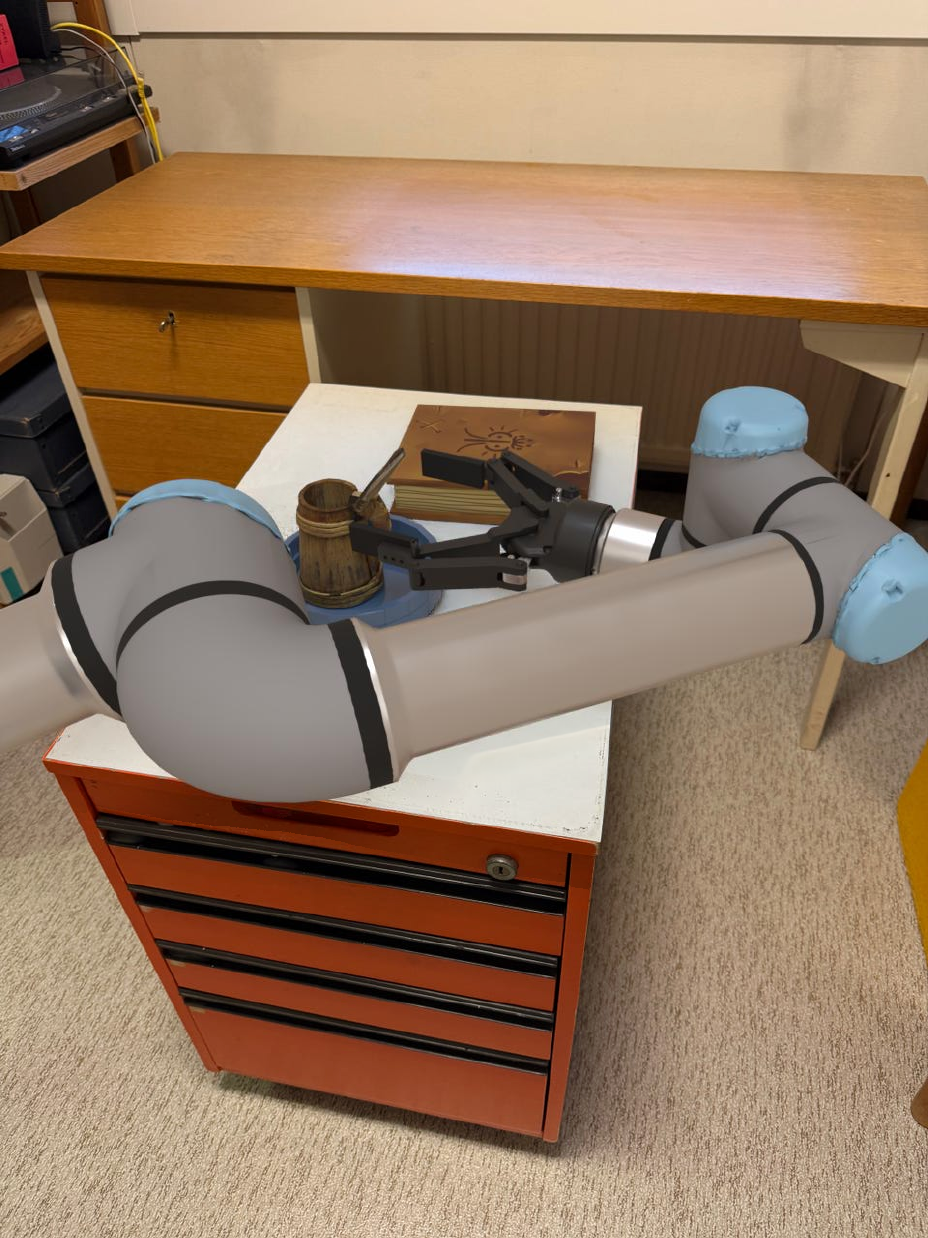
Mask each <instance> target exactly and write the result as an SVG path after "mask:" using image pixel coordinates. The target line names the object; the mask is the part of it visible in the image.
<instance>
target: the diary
mask: <svg viewBox="0 0 928 1238" xmlns="http://www.w3.org/2000/svg"><path fill="white" fill-rule="evenodd" d="M596 419H597V411H591V410H588V411H587V410H569V409H568V410H567V409H544V408H543V409H541V408H540V409H539V408H520V407H519V408H517V407H494V406H493V407H492V406H472V405H471V406H470V405H469V406H468V405H446V404H445V405H443V404H424V403H423V404H422V403H421V404H419V403H418V404H417V405H416V407H415V409H414V411H413V414H412V416H411V418H410V421H409V423H408V425H407V428H406V430H405V432H404V435H403V437H402V439H401V442H400V444H399V446H398V448H397V450H398V449H399V448H402V447H403V448H404V451H405V454H406V455H405V457H404V458H403V459H402V461H401V462H400V463H399V465H398V466H397V468H396V469H395V470H394V472H393V473H392V475H391V476H390V477H389V479H388V480H387V481H386V483H385V485H389V486H393V491H394V498H393V499H394V500H393V502H392V504H391V507H390V509H389V514H392V515H397V516H402V517H405V518H407V519H409V520H416V521H417V520H419V521H432V522H433V521H434V522H449V523H451V522H452V523H464V524H465V523H468V524H481V525H482V524H484V525H497V526H500V524H501V523H502V522H503V521H504V520H505V519H507V518H508V517H509V515H510V511H511V510H510V508H509V507H508V506H507V505H506V504H505V503H504V502H503V501H502V499H501V498H500V497H499V496H498V495H497V494H496V493H495V492H494V490H493V489H492V490H490V488H489V491H488V490H487V480H485V486H484V487H483V488H482V489H478V488H474V487H470V486H465V485H461V484H457V483H452V482H448V481H444V480H439V479H435V478H431V477H426V476H422V464H421V451H422V450H423V449H424V448H426V449H430V450H435V451H439V452H444V453H449V454H453V455H458V456H468V457H470V458H471V457H472V458H477V459H481V460H486V461H487V460H488V459H490V458H496V459H498V458H500V457H501V452H502V451H505V450H508V451H512V452H513V453H515V454H517V455H518V456H520V457H522V458H523V459H525V460H527V461H528V462H530V463H532V464H533V465H535V466H537V467H538V468H540V469H542V470H544V471H545V472H547V473H549V474H550V475H552V476H554V477H555V478H557V479H559V480H561V481H565V482H568V483H571V484H575V485H577V486H579V498H581V499H586V500H589V493H590V486H591V485H590V484H591V475H592V467H593V458H594V449H595V436H596V435H595V434H596V421H597V420H596ZM513 470H514V471H515V469H514V467H513Z"/></svg>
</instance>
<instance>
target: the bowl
mask: <svg viewBox="0 0 928 1238" xmlns="http://www.w3.org/2000/svg"><path fill="white" fill-rule="evenodd" d="M389 514H390V513H389ZM390 520H391V531H393V532H396V533H400V534H404V535H408V536H412V537H416V538H418V542H419V545H424V544H429V543H435V542H438V541H437V539H436V537H435V536H434V535H433V534H432V533H431V532H430V531H429V530H428V529H427V528H426V527H424V526H423V525H422V524H420V523H418V522H416V521H414V520H412V519H407V518H405V517H402V516H397V515H392V514H390ZM367 524H368V525H369V526H373V527H375V526H374V524H373V523H372V521H371V520H369V519H368V520H367ZM284 541H285V543H286V544H287V545H288V547H289V548H290V552H291V556H292V558H293V561H294V563H295V565H296V571H297V576H298V580H299V570H300V550H299V529H298V530H296V531H295V532H293V533H292V534H290V535H289V536H287V537H286V539H284ZM426 559H431V558H430V557H426ZM382 566H383V574H384V581H383V585H382V586H381V587H380V588H379V589H378V591H377V592H376V593H375V594H374V595H373V596H371V597H370V598H369V599H367V600H366V601H364V602H362V603H360V604H358V605H355V606H351V607H347V608H323V607H319V606H314V605H312V604H310V603H308V602H306V601H305V600H304V601H305V604H306V608H307V611H308V615H309V618H310V622H311V625H315V626H317V625H324V624H329V623H333V622H337V621H341V620H345V619H348V618H353V617H355V618H357V619H359V620H361V621H362V622H364V623H366V624H368V625H370V626H372V627H374V628H377V629H382V628H386V627H390V626H394V625H398V624H402V623H406V622H410V621H414V620H418V619H422V618H425V617H429V615H430V614H431V613H432V612H433V610H434V608H435V607H436V605H437V603H438V602H439V600H440V599H441V597H442V592H443V590H428V591H414V590H412V589H411V588H410V582H409V572H408V570H407V569H404V568H400V567H397V566H393V565H389V564H386V563H382Z"/></svg>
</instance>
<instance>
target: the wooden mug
mask: <svg viewBox="0 0 928 1238" xmlns="http://www.w3.org/2000/svg"><path fill="white" fill-rule="evenodd" d="M398 448H399V447H398ZM398 448H397V449H396V450H395V451H394V452H393V453H392V455H391V456H390V457H389V458H388V460H387V461H386V463H385V464H384V465H383V466H382V467H381V469H379V470H378V472H377V473H376V474H375V475H374V477H373V478H372V479H371V480H370V481H369V483H368V484H367V486H366V487H365V488H364V489H363V491H361V490H360V491H359V490H358V488H357V486H356V484H354V483H353V482H351V481H349V480H345V479H341V478H333V477H332V478H331V477H329V478H322V479H319V480H315V481H312V482H309V483H307V484H306V485H305V486H303V487H302V488H301V489H300V490H299V492H298V495H297V502H298V503H297V505H296V509H295V523H296V525H297V528H298V530H299V550H300V570H299V583H300V587H301V590H302V594H303V597H304V600H305V601H306V602H308V603H310V604H312V605H314V606H319V607H323V608H347V607H351V606H355V605H358V604H360V603H362V602H364V601H366V600H367V599H369V598H370V597H371V596H373V595H374V594H375V593H376V592H377V591H378V589H379V588H380V587H381V586H382V585H383V581H384V574H383V566H382V562H381V561H380V560H379V558H377V557H373V556H370V555H366V554H362V553H359V552H355V551H352V548H351V541H350V534H349V527H348V526H349V525H350V524H351V522H352V521H354V522H358V523H362V524H366V525H368V524H367V520H368V519H369V520H371V521H372V523H373V524H374V526H375V527H377V528H381V529H385V530H389V531H391V520H390V511H389V510H388V507H387V505H386V503H385V502H384V501H385V500H383V498H382V497H381V495H380V493H379V492H380V491H381V490H382V488H383V487H384V485H386V481H387V480H388V479H389V477H390V476H391V475H392V473H393V472H394V470H395V469H396V468H397V466H398V465H399V463H400V462H401V461H402V459H403V458H404V457H405V455H406V454H405V451H404V448H403V447H402V448H399V449H398Z"/></svg>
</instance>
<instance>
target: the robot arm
mask: <svg viewBox="0 0 928 1238" xmlns="http://www.w3.org/2000/svg"><path fill="white" fill-rule="evenodd" d="M807 412H808V411H806V407H805V405H804V404H803V403H802V402H801V401H800V400H799V399H798V398H796V397H795V396H793V395H792V394H789V393H787V392H784V391H782V390H779V389H776V388H770V387H765V386H757V385H755V386H753V385H751V386H750V385H749V386H748V385H746V386H745V385H743V386H738V387H733V388H727V389H724V390H721V391H719V392H717V393H715V394H713V395H712V396H710V397H709V398H708V399H707V400H706V401H705V402H704V404H703V406H702V408H701V410H700V414H699V418H698V424H697V427H696V433H695V437H694V441H693V442H692V443H691V445H690V451H691V453H690V461H689V470H688V476H687V484H686V492H685V501H684V510H683V514H682V518H681V520H680V519H674V518H670V517H665V516H662V515H657V514H653V513H649V512H645V511H642V510H641V511H640V510H637V509H633V508H628V507H622V508H620V509H618V510H617V511H616V509H615V508H614V507H613V506H612V505H611V504H608V503H603V502H599V501H594V500H591V499H590V500H589V499H588V500H586V499H581V498H579V486H577V485H575V484H571V483H568V482H565V481H561V480H559V479H557V478H555V477H554V476H552V475H550V474H549V473H547V472H545V471H544V470H542V469H540V468H538V467H537V466H535V465H533V464H532V463H530V462H528V461H527V460H525V459H523V458H522V457H520V456H518V455H517V454H515V453H513V452H512V451H508V450H505V451H502V452H501V457H500V458H498V459H496V458H490V459H488V460H487V461H486V460H481V459H477V458H472V457H471V458H470V457H468V456H458V455H453V454H449V453H444V452H439V451H435V450H430V449H426V448H424V449H423V450H422V451H421V464H422V476H426V477H431V478H435V479H439V480H444V481H448V482H452V483H457V484H461V485H465V486H470V487H474V488H478V489H482V488H483V487H484V486H485V480H487V490H488V491H489V488H490V490H492V489H493V490H494V492H495V493H496V494H497V495H498V496H499V497H500V498H501V499H502V501H503V502H504V503H505V504H506V505H507V506H508V507H509V508H510V510H511V511H510V515H509V517H508V518H507V519H505V520H504V521H503V522H502V523H501V524H500V525H497V526H493V527H490V528H489V529H488V530H487V532H484V533H481V534H480V533H479V534H475V535H469V536H468V535H467V536H463V537H458V538H453V539H447V540H441V541H437V542H435V543H429V544H424V545H419V542H418V538H416V537H412V536H408V535H404V534H400V533H396V532H393V531H389V530H385V529H381V528H377V527H373V526H369V525H366V524H362V523H358V522H354V521H352V522H351V524H350V525H349V526H348V527H349V534H350V541H351V548H352V551H355V552H359V553H362V554H366V555H370V556H373V557H377V558H379V560H380V561H381V562H382V563H386V564H389V565H393V566H397V567H400V568H404V569H407V570H408V572H409V582H410V588H411V589H412V590H414V591H428V590H442V591H451V590H453V591H454V590H479V589H483V590H484V589H502V590H508V591H513V592H518V593H517V594H512V595H509V596H505V597H500V598H497V599H493V600H489V601H484V602H481V603H478V604H474V605H473V604H472V605H469V606H466V607H461V608H457V609H454V610H453V609H452V610H449V611H444V612H441V613H437V614H434V615H430V616H429V615H428V617H425V618H422V619H418V620H414V621H410V622H406V623H402V624H398V625H394V626H390V627H386V628H382V629H377V628H374V627H372V626H370V625H368V624H366V623H364V622H362V621H361V620H359V619H357V618H355V617H353V618H348V619H345V620H341V621H337V622H333V623H329V624H324V625H317V626H315V625H311V622H310V618H309V615H308V611H307V608H306V604H305V601H304V597H303V594H302V590H301V587H300V583H299V580H298V576H297V571H296V565H295V563H294V561H293V558H292V556H291V552H290V548H289V547H288V545H287V544H286V543H285V538H284V537H283V535H282V531H281V530H280V528H279V526H278V524H277V523H276V521H275V519H274V518H273V517H272V515H271V514H270V513H269V512H268V510H266V508H264V507H263V506H262V504H261V503H260V502H258V500H255V499H254V498H253V497H251V495H248V494H247V493H246V492H243V491H241V490H240V489H237V488H234V487H231V486H227V485H224V484H221V483H220V482H218V481H213V480H208V479H199V478H180V479H172V480H167V481H163V482H159V483H156V484H153V485H151V486H148V487H146V488H145V489H143V490H141V491H139V492H138V493H136V494H135V495H133V496H132V497H131V498H130V499H129V500H127V501H126V502H125V503H124V504H123V505H122V507H121V508H120V509H119V511H118V512H117V515H116V516H115V517H114V518H113V520H112V522H111V524H110V526H109V530H108V537H107V538H105V539H103V540H100V541H97V542H95V543H93V544H90V545H88V546H85V547H83V548H80V549H78V550H76V551H73V552H72V553H69V554H67V555H65V556H62V557H60V558H57V559H55V560H53V561H52V562H51V563H50V564H49V566H48V567H47V571H46V573H45V576H44V579H43V581H42V586H41V587H40V591H39V592H38V593H36V594H34V595H32V596H29V597H27V598H24V599H22V600H20V601H17V602H15V603H12V604H10V605H8V606H5V607H3V608H0V756H2V755H5V754H7V753H9V752H12V751H14V750H16V749H18V748H21V747H24V746H26V745H28V744H30V743H33V742H35V741H37V740H39V739H43V738H45V737H47V736H49V735H51V734H53V733H56V732H58V731H61V730H62V729H66V728H68V727H70V726H72V725H75V724H77V723H80V722H81V721H84V720H86V719H89V718H91V717H93V716H96V715H102V716H106V717H108V718H110V719H112V720H113V719H114V720H115V721H117V722H118V721H119V722H121V723H123V724H125V726H126V727H127V730H128V732H129V734H130V735H131V737H132V738H133V739H134V742H136V744H137V745H138V746H139V748H140V749H141V750H142V752H143V753H144V754H145V756H147V757H148V758H149V759H150V760H151V761H152V762H153V763H154V764H156V765H157V766H158V768H160V769H161V770H163V771H165V772H166V773H167V774H169V775H171V776H172V777H174V778H175V779H178V780H180V781H181V782H183V783H185V784H188V785H190V786H192V787H194V788H196V789H199V790H200V791H201V790H202V791H204V792H207V793H210V794H212V795H218V796H221V797H225V798H231V799H236V800H243V801H250V802H259V803H290V804H291V803H292V804H293V803H306V802H308V803H309V802H318V801H329V800H333V799H335V800H336V799H339V798H345V797H350V796H354V795H358V794H362V793H366V792H368V791H372V790H375V789H378V788H381V787H386V786H388V785H392V784H396V783H398V782H399V781H400V779H401V777H403V776H402V775H403V774H404V772H405V770H406V768H407V767H408V765H409V764H410V763H411V762H412V761H413V760H414V759H417V758H419V757H422V756H427V755H429V754H430V755H431V754H432V753H433V754H434V753H436V752H439V751H443V750H447V749H451V748H453V747H457V746H460V745H464V744H468V743H470V742H474V741H477V740H479V739H484V738H486V737H491V736H495V735H497V734H502V733H504V732H508V731H511V730H514V729H519V728H522V727H525V726H529V725H531V724H535V723H538V722H543V721H545V720H546V721H547V720H549V719H552V718H555V717H559V716H563V715H566V714H569V713H572V712H576V711H580V710H583V709H587V708H590V707H593V706H596V705H600V704H603V703H608V702H610V701H614V700H617V699H620V698H624V697H627V696H631V695H634V694H638V693H641V692H645V691H649V690H651V689H656V688H658V687H661V686H665V685H668V684H672V683H675V682H679V681H682V680H686V679H689V678H692V677H696V676H699V675H702V674H703V675H704V674H706V673H710V672H713V671H716V670H720V669H723V668H726V667H730V666H733V665H737V664H741V663H744V662H747V661H751V660H754V659H758V658H761V657H764V656H767V655H770V654H774V653H778V652H781V651H784V650H788V649H792V648H795V647H798V646H802V645H808V644H811V643H815V642H818V641H821V640H826V639H828V640H831V643H832V644H833V646H834V648H835V649H838V650H839V651H841V652H843V653H845V655H847V656H848V657H849V658H850V659H852V660H853V661H855V662H857V663H862V664H863V663H868V664H871V665H881V664H886V663H890V662H893V661H895V660H897V659H900V658H902V657H904V656H906V655H907V654H909V653H910V652H912V651H914V650H915V649H916V648H918V647H919V646H921V644H924V642H925V641H926V640H927V639H928V552H927V550H925V548H923V547H922V546H921V545H920V544H919V543H918V542H917V541H916V539H915V538H914V537H913V536H912V535H911V534H909V533H907V532H905V531H903V530H902V529H901V528H899V527H898V526H897V525H895V524H894V523H893V522H892V521H891V520H889V519H888V518H887V517H885V516H884V515H883V514H881V513H880V512H879V511H878V510H877V509H875V508H874V507H872V506H871V505H870V504H869V503H867V502H866V501H865V500H864V499H862V498H861V497H860V496H859V495H857V494H856V493H854V492H853V491H852V490H850V489H849V488H848V487H846V485H845V484H844V483H842V481H840V480H839V479H838V478H836V476H834V475H833V474H832V473H831V472H829V471H828V470H827V469H825V468H824V467H823V466H822V465H821V464H819V463H818V462H817V461H816V460H814V459H813V458H812V457H810V456H809V455H808V454H807V453H805V450H804V447H805V444H806V443H808V439H809V437H808V429H809V415H808V413H807ZM513 467H514V469H515V471H514V470H513ZM501 549H502V550H503V552H501ZM426 557H430V558H431V559H426ZM531 570H542V571H543V570H544V571H546V572H548V574H549V575H550V576H551V577H552V579H553V580H554V581H555V582H556V583H557V584H556V583H555V584H552V585H549V586H544V587H540V588H537V589H533V590H528V591H526V590H527V588H528V576H529V574H530V571H531Z"/></svg>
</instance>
